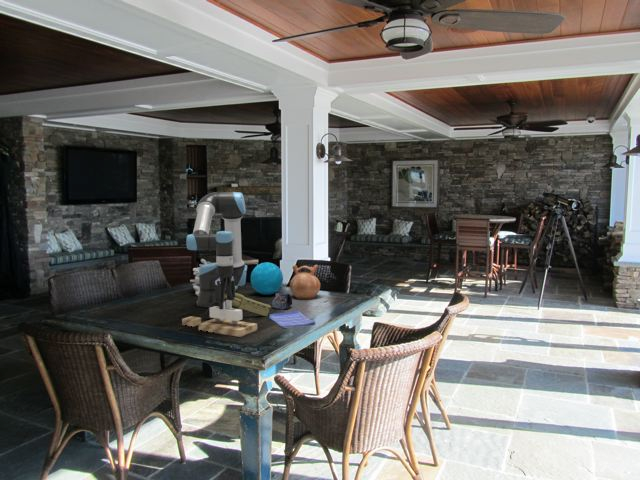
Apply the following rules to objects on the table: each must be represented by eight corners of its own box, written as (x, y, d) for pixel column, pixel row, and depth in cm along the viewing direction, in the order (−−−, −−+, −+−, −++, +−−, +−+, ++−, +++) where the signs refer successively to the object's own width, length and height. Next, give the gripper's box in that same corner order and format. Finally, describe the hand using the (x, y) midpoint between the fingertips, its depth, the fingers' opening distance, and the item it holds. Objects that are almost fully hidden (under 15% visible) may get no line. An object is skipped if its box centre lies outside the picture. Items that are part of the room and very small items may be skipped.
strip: (209, 322, 248) (209, 307, 247) (215, 320, 252) (215, 305, 251) (237, 326, 240) (236, 311, 240) (242, 324, 244) (242, 309, 243)
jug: (322, 294, 327) (322, 262, 325) (317, 300, 309) (317, 267, 307) (293, 293, 330) (293, 262, 328) (286, 299, 313) (286, 266, 311)
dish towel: (299, 315, 277) (299, 309, 277) (316, 325, 255) (316, 320, 255) (267, 318, 270) (267, 312, 270) (282, 329, 248) (282, 323, 248)
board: (198, 330, 246) (198, 323, 246) (216, 323, 257) (216, 317, 257) (240, 336, 234) (240, 330, 234) (257, 330, 246) (257, 323, 245)
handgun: (203, 315, 268) (215, 284, 268) (260, 333, 276) (271, 303, 276) (204, 317, 264) (215, 286, 264) (261, 335, 271) (272, 305, 271)
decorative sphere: (258, 290, 341) (257, 259, 339) (287, 292, 335) (287, 260, 333) (245, 296, 321) (245, 264, 320) (276, 298, 316) (276, 265, 314)
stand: (182, 325, 255) (182, 318, 255) (190, 322, 261) (190, 316, 260) (192, 326, 252) (192, 320, 252) (201, 323, 257) (201, 317, 257)
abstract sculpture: (243, 260, 344) (198, 249, 334) (246, 280, 325) (197, 269, 315) (232, 288, 354) (187, 279, 343) (234, 309, 335) (186, 300, 324)
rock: (291, 305, 285) (283, 288, 287) (274, 314, 287) (267, 296, 289) (298, 305, 295) (290, 289, 297) (282, 313, 297) (275, 297, 300)
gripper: (219, 267, 234) (220, 319, 236) (242, 263, 249) (243, 312, 251) (206, 266, 238) (207, 317, 240) (230, 262, 253) (230, 310, 255)
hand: (225, 314), depth 246 cm, fingers closed on strip, 4 cm apart
